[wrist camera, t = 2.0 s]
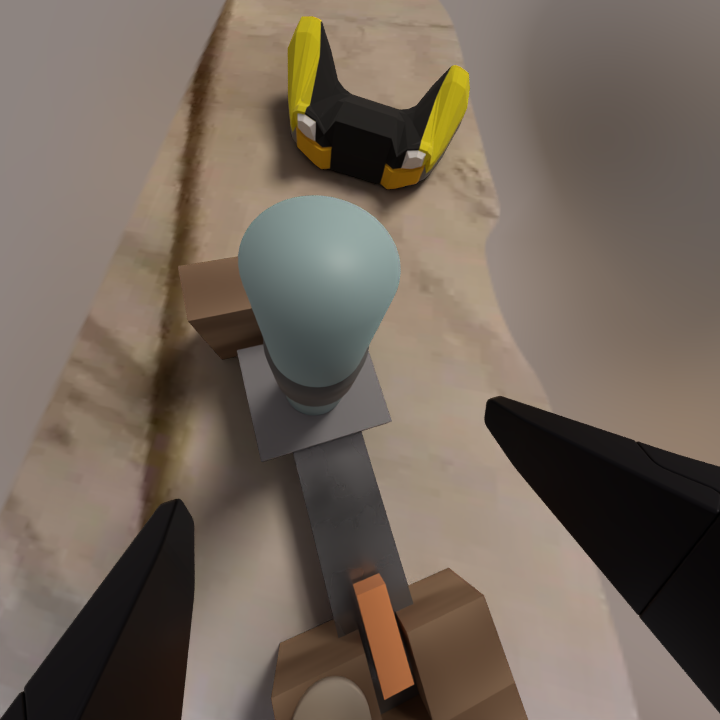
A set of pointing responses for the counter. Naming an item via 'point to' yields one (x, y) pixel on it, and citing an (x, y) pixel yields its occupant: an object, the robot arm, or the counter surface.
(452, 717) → the end cabinet
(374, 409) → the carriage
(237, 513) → the counter surface
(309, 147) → the gaming controller
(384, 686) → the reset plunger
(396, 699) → the track
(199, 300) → the end cabinet
